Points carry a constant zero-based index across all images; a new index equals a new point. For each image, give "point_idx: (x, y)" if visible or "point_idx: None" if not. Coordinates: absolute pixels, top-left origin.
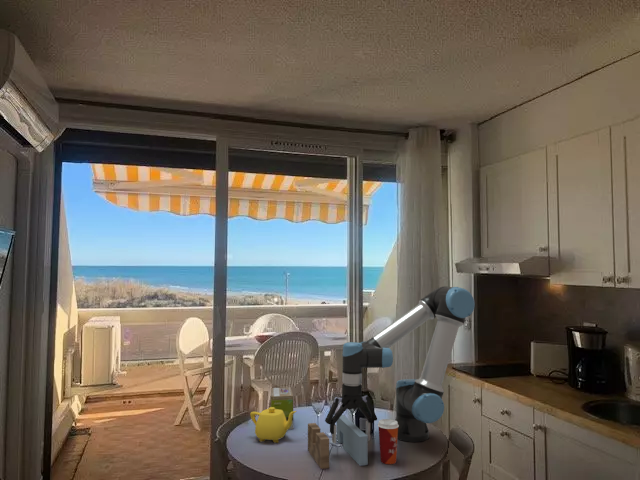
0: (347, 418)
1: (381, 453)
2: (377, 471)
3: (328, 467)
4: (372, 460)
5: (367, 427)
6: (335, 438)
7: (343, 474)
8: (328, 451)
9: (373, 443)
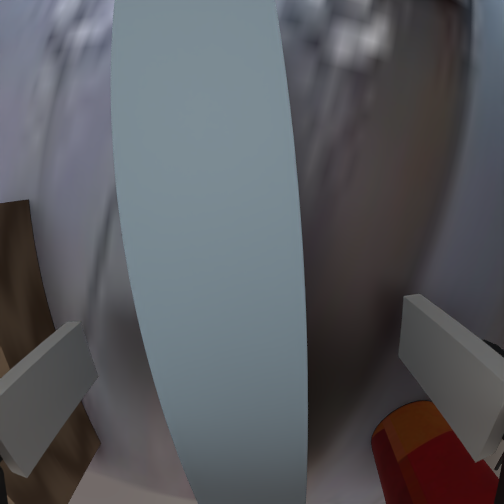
0: (267, 11)
1: (379, 477)
2: (306, 498)
3: (97, 444)
4: (338, 421)
5: (456, 401)
6: (76, 398)
7: (160, 493)
8: (70, 492)
9: (454, 155)
